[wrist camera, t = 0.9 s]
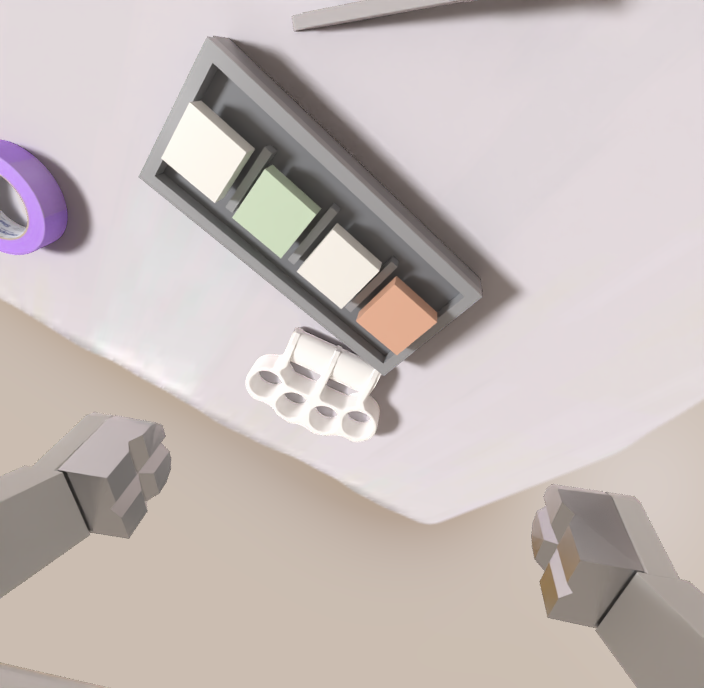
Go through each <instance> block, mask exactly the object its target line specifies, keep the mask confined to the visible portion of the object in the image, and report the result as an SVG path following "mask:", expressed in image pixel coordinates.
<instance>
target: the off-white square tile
mask: <svg viewBox="0 0 704 688" xmlns="http://www.w3.org/2000/svg"><path fill="white" fill-rule="evenodd" d="M381 264H382V262H381V261H379V260H378V259H377V258H376V257H375V256H374V255H373V254H372V253H371V252H369V251H368V250H367V249H366V248H365V247H364V246H363V245H362V244H361V243H359V242H358V241H357V240H356V239H355V238H354V237H353V236H352V235H350V234H349V233H348V232H347V231H346V230H345V229H344V228H343V227H342V226H340V225H339V224H338V223H337V224H336V225H335V226H334V227H333V228H332V230H331V231H330V232H329V233H328V234H327V235H326V237H325V238H324V239H323V240H322V241H321V243H320V244H319V245H318V246H317V247H316V248H315V250H314V251H313V252H312V253H311V254H310V255H309V257H308V258H307V259H306V260H305V261H304V262H303V264H302V265H301V266H300V268H299V269H298V271H297V272H298V273H299V274H300V275H301V276H302V277H304V278H305V279H306V280H307V281H308V282H310V283H311V284H312V285H313V286H314V287H316V288H317V289H318V290H319V291H320V292H322V293H323V294H324V295H325V296H326V297H327V298H329V299H330V300H331V301H332V302H333V303H335V304H336V305H337V306H338V307H339V308H341V309H342V308H343V307H344V306H345V305H346V304H347V303H348V302H349V301H350V300H351V299H352V298H353V297H354V296H355V295H356V294H357V293H358V292H359V291H360V290H361V289H362V288H363V287H364V286H365V285H366V284H367V283H368V282H369V281H370V280H371V279H372V278H373V277H374V276H375V275H376V274H377V273H378V272H379V271H380V268H381Z"/></svg>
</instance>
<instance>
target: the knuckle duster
mask: <svg viewBox="0 0 704 688" xmlns="http://www.w3.org/2000/svg"><path fill="white" fill-rule="evenodd" d="M290 361H291V362H293V363H296V364H298V365H300V366H302V367H305V368H307V369H309V370H311V371H314V372H316V373H318V374H320V375H321V377H320V379H318V380H313V379H310V378H308V377H306V376H304V375H301V374H299V373H297V372H295V371H294V369H293V367H292V365H291V363H290ZM259 371H269V372H272V373H274V374H276V375H277V376H278V377H279V378H280V380H281V383H277V384H274V383H269V382H267V381H265V380H264V379H263V378H262V377H261V375H260V373H259ZM380 376H381V373H379V372H378V371H377V370H376V369H374V368H373V367H372V366H371V365H370V364H368V363H367V362H366V361H365V360H363V359H362V358H361V357H360V356H358V355H356V354H353V353H351V352H349V351H347V350H345V349H343V348H342V347H341V346H339V345H337V346H336V345H334V344H331V343H329V342H327V341H325V340H323V339H320V338H318V337H316V336H314V335H312V334H309V333H307V332H305V331H303V329H301V328H299V327H298V328H295V330H294V332H293V334H292V336H291V338H290V340H289V343H288V345H287V347H286V350H285V352H284V354H282V355H276V354H267V355H264V356H262V357H260V358H259V359H258V360H257V361H256V362H255V364H254V365H253V367H252V369H251V370H250V372H249V373H248V375H247V377H246V388H247V390H248V392H249V394H250V395H251V396H252V397H253V398H254V399H255V400H259V401H262V402H264V403H266V404H268V405H269V406H271V407H272V408H273V409H274V410H275V412H276V413H277V415H278V416H280V417H281V418H283V419H284V420H286V421H287V422H288V423H295V424H299V425H301V426H303V427H305V428H307V429H308V430H309V431H310V432H311V433H315V434H319V435H324V436H328V435H337V436H342V437H345V438H347V439H349V440H350V441H352V442H363V441H366V440H368V439H370V438H371V437H373V436H374V434H375V433H376V430H377V426H378V421H379V415H380V408H379V405H378V403H377V402H376V401H375V399H374V398H372V397H371V396H370V393H371V392H372V391H373V389H374V387H375V386H376V384H377V382H378V380H379V378H380ZM329 379H332V380H334V381H336V382H338V383H341V384H343V385H345V386H347V387H350V388H352V389H354V390H356V391H359V393H352V394H350V395H347V394H344V393H342V392H340V391H337V390H335V389H333V388H331V387H329V386H327V382H328V380H329ZM289 392H293V393H297V394H299V395H301V396H303V397H304V398H305V399H306V400H307V402H305V403H295V402H292V401H291V400H289V399H288V398H287V397H286V396H285V393H289ZM317 406H326V407H329V408H331V409H333V410H334V411H335V412H336V413H337V415H338V416H335V417H327V416H324V415H322V414H321V413H320V412H319V411H318V410H317V409H316V407H317ZM352 411H359V412H362V413H365V414H366V415H368V416H369V417H370V418H371V420H369V421H366V422H359V421H356V420H354V419H352V418H351V417H350V416H349V415H348V413H349V412H352Z"/></svg>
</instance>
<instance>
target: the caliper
mask: <svg viewBox="0 0 704 688" xmlns="http://www.w3.org/2000/svg"><path fill="white" fill-rule="evenodd" d="M471 1H476V0H364V1H359V2H354V3H349V4H344V5H339V6H334V7H328V8H323V9H318V10H313V11H308V12H303V14H298V15H293V16H292V23H293V30H294V31H298V30H304V29H311V28H318V27H324V26H330V25H336V24H341V23H347V22H352V21H358V20H364V19H369V18H375V17H380V16H386V15H391V14H397V13H403V12H408V11H414V10H419V9H425V8H431V7H436V6H442V5H447V4H453V3H459V2H471Z"/></svg>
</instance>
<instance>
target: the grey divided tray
mask: <svg viewBox="0 0 704 688" xmlns="http://www.w3.org/2000/svg"><path fill="white" fill-rule="evenodd" d="M194 101H202V102H203V103H205V104H206V105H207V106H208V107H209V108H210V109H211V110H212V111H213V112H215V113H216V114H217V115H218V116H219V117H220V118H221V119H222V120H223V121H225V122H226V123H227V124H228V125H229V126H230V127H231V128H232V129H233V130H235V131H236V132H237V133H238V134H239V135H240V136H241V137H242V138H244V139H245V140H246V141H247V142H248V143H249V144H250V145H251V146H252V147H254V148H255V150H254V152H253V153H252V155H251V156H250V158H249V159H248V161H247V163H246V164H245V166H244V167H243V169H242V170H241V172H240V174H239V175H238V177H237V178H236V180H235V181H234V183H233V184H232V186H231V188H230V189H229V191H228V192H227V194H226V195H225V197H224V198H223V199H221V200H219V201H218V202H216V203H214V202H213V201H211V200H210V199H209V198H208V197H207V196H205V195H204V194H203V193H202V192H201V191H199V190H198V189H197V188H196V187H195V186H194V185H192V184H191V183H190V182H189V181H188V180H186V179H185V178H184V177H183V176H182V175H180V174H179V173H178V172H177V171H176V170H174V169H173V168H172V167H171V166H170V165H168V164H167V163H166V162H165V161H164V160H162V159H161V157H162V156H163V154H164V152H165V150H166V148H167V146H168V144H169V142H170V140H171V138H172V136H173V134H174V132H175V130H176V128H177V126H178V124H179V122H180V120H181V118H182V116H183V114H184V112H185V110H186V108H187V106H188V104H189V102H194ZM271 165H274V166H275V167H276V168H277V169H278V170H279V171H280V172H281V173H283V174H284V175H285V176H286V177H287V178H288V179H289V180H290V181H291V182H293V183H294V184H295V185H296V186H297V187H298V188H299V189H300V190H301V191H303V192H304V193H305V194H306V195H307V196H308V197H309V198H310V199H311V200H313V201H314V202H315V203H316V204H317V205H318V206H319V207H320V208H322V209H321V210H320V211H319V212H318V214H317V215H316V216H315V217H314V218H313V220H312V221H311V222H310V223H309V225H308V226H307V227H306V228H305V230H304V231H303V232H302V233H301V235H300V236H299V237H298V238H297V240H296V241H295V242H294V243H293V244H292V246H291V247H290V248H289V249H288V251H287V252H286V253H285V254H284V255H283V257H282V258H280V257H278V256H277V255H276V254H275V253H274V252H272V251H271V250H270V249H269V248H268V247H266V246H265V245H264V244H263V243H262V242H261V241H259V240H258V239H257V238H256V237H255V236H253V235H252V234H251V233H250V232H249V231H247V230H246V229H245V228H244V227H243V226H241V225H240V224H239V223H238V222H237V221H235V220H234V219H233V218H232V217H233V216H234V214H235V213H236V211H237V210H238V208H239V207H240V205H241V204H242V202H243V201H244V199H245V198H246V196H247V195H248V193H249V192H250V190H251V189H252V187H253V186H254V184H255V183H256V181H257V180H258V178H259V177H260V175H261V174H262V172H263V171H264V170H265V169H266V168H268V167H269V166H271ZM139 178H140V179H142V180H143V181H144V182H145V183H147V184H148V185H149V186H150V187H151V188H153V189H154V190H155V191H156V192H158V193H159V194H160V195H161V196H163V197H164V198H165V199H166V200H167V201H169V202H170V203H171V204H172V205H174V206H175V207H176V208H177V209H179V210H180V211H181V212H182V213H183V214H185V215H186V216H187V217H188V218H190V219H191V220H192V221H193V222H195V223H196V224H197V225H198V226H199V227H201V228H202V229H203V230H204V231H206V232H207V233H208V234H209V235H211V236H212V237H213V238H214V239H215V240H217V241H218V242H219V243H220V244H222V245H223V246H224V247H225V248H227V249H228V250H229V251H230V252H232V253H233V254H234V255H235V256H236V257H238V258H239V259H240V260H241V261H243V262H244V263H245V264H246V265H248V266H249V267H250V268H251V269H252V270H254V271H255V272H256V273H257V274H259V275H260V276H261V277H262V278H264V279H265V280H266V281H267V282H268V283H270V284H271V285H272V286H273V287H275V288H276V289H277V290H278V291H280V292H281V293H282V294H283V295H284V296H286V297H287V298H288V299H289V300H291V301H292V302H293V303H294V304H296V305H297V306H298V307H299V308H301V309H302V310H303V311H304V312H305V313H307V314H308V315H309V316H310V317H312V318H313V319H314V320H315V321H317V322H318V323H319V324H320V325H321V326H323V327H324V328H325V329H326V330H328V331H329V332H330V333H331V334H333V335H334V336H335V337H336V338H337V339H339V340H340V341H341V342H342V343H344V344H345V345H346V346H347V347H349V348H350V349H351V350H352V351H353V352H355V353H356V354H357V355H358V356H360V357H361V358H362V359H363V360H365V361H366V362H367V363H368V364H370V365H371V366H372V367H373V368H374V369H376V370H377V371H378V372H379V373H381V374H382V375H383V376H385V375H386V374H387V373H389V372H390V371H391V370H392V369H394V368H395V367H396V366H397V365H398V364H400V363H401V362H402V361H403V360H405V359H406V358H407V357H408V356H410V355H411V354H412V353H413V352H415V351H416V350H417V349H418V348H420V347H421V346H422V345H423V344H425V343H426V342H427V341H428V340H430V339H431V338H432V337H433V336H435V335H436V334H437V333H438V332H440V331H441V330H442V329H443V328H445V327H446V326H447V325H448V324H449V323H451V322H452V321H453V320H454V319H456V318H457V317H458V316H459V315H461V314H462V313H463V312H464V311H466V310H467V309H468V308H469V307H471V306H472V305H473V304H474V303H476V302H477V301H478V300H479V299H481V298H482V297H483V296H482V292H483V290H482V285H481V279H480V278H479V277H478V276H477V275H476V274H475V273H474V272H473V271H472V270H471V269H470V268H468V267H467V266H466V265H465V264H464V263H463V262H462V261H461V260H460V259H459V258H458V257H457V256H456V255H455V254H454V253H453V252H452V251H451V250H450V249H449V248H448V247H447V246H445V245H444V244H443V243H442V242H441V241H440V240H439V239H438V238H437V237H436V236H435V235H434V234H433V233H432V232H431V231H430V230H429V229H428V228H427V227H426V226H425V225H424V224H423V223H421V222H420V221H419V220H418V219H417V218H416V217H415V216H414V215H413V214H412V213H411V212H410V211H409V210H408V209H407V208H406V207H405V206H404V205H403V204H402V203H401V202H400V201H398V200H397V199H396V198H395V197H394V196H393V195H392V194H391V193H390V192H389V191H388V190H387V189H386V188H385V187H384V186H383V185H382V184H381V183H380V182H379V181H378V180H377V179H376V178H374V177H373V176H372V175H371V174H370V173H369V172H368V171H367V170H366V169H365V168H364V167H363V166H362V165H361V164H360V163H359V162H358V161H357V160H356V159H355V158H354V157H353V156H351V155H350V154H349V153H348V152H347V151H346V150H345V149H344V148H343V147H342V146H341V145H340V144H339V143H338V142H337V141H336V140H335V139H334V138H333V137H332V136H331V135H330V134H328V133H327V132H326V131H325V130H324V129H323V128H322V127H321V126H320V125H319V124H318V123H317V122H316V121H315V120H314V119H313V118H312V117H311V116H310V115H309V114H308V113H307V112H306V111H304V110H303V109H302V108H301V107H300V106H299V105H298V104H297V103H296V102H295V101H294V100H293V99H292V98H291V97H290V96H289V95H288V94H287V93H286V92H285V91H284V90H283V89H281V88H280V87H279V86H278V85H277V84H276V83H275V82H274V81H273V80H272V79H271V78H270V77H269V76H268V75H267V74H266V73H265V72H264V71H263V70H262V69H261V68H260V67H259V66H257V65H256V64H255V63H254V62H253V61H252V60H251V59H250V58H249V57H248V56H247V55H246V54H245V53H244V52H243V51H242V50H241V49H240V48H239V47H238V46H237V45H236V44H234V43H233V42H232V41H231V40H230V39H229V38H225V37H218V36H213V37H207V38H206V40H205V42H204V44H203V46H202V48H201V50H200V52H199V54H198V56H197V58H196V60H195V62H194V64H193V67H192V69H191V71H190V73H189V75H188V77H187V79H186V81H185V83H184V85H183V87H182V89H181V91H180V93H179V95H178V97H177V99H176V101H175V103H174V105H173V107H172V110H171V112H170V114H169V116H168V118H167V120H166V122H165V124H164V126H163V128H162V130H161V132H160V134H159V136H158V138H157V140H156V142H155V144H154V146H153V148H152V150H151V153H150V155H149V157H148V159H147V161H146V163H145V165H144V167H143V169H142V171H141V173H140V175H139ZM337 223H338V224H339V225H340V226H342V227H343V228H344V229H345V230H346V231H347V232H348V233H349V234H350V235H352V236H353V237H354V238H355V239H356V240H357V241H358V242H359V243H361V244H362V245H363V246H364V247H365V248H366V249H367V250H368V251H369V252H371V253H372V254H373V255H374V256H375V257H376V258H377V259H378V260H379V261H381V262H382V264H381V268H380V271H379V272H378V273H377V274H376V275H375V276H374V277H373V278H372V279H371V280H370V281H369V282H368V283H367V284H366V285H365V286H364V287H363V288H362V289H361V290H360V291H359V292H358V293H357V294H356V295H355V296H354V297H353V298H352V299H351V300H350V301H349V302H348V303H347V304H346V305H345V306H344V307H343V308H342V309H341V308H339V307H338V306H337V305H336V304H335V303H333V302H332V301H331V300H330V299H329V298H327V297H326V296H325V295H324V294H323V293H322V292H320V291H319V290H318V289H317V288H316V287H314V286H313V285H312V284H311V283H310V282H308V281H307V280H306V279H305V278H304V277H302V276H301V275H300V274H299V273H298V272H297V271H298V269H299V268H300V266H301V265H302V264H303V262H304V261H305V260H306V259H307V258H308V257H309V255H310V254H311V253H312V252H313V251H314V250H315V248H316V247H317V246H318V245H319V244H320V243H321V241H322V240H323V239H324V238H325V237H326V235H327V234H328V233H329V232H330V231H331V230H332V228H333V227H334V226H335V225H336V224H337ZM396 276H397V277H398V278H400V279H401V280H402V281H403V282H404V283H405V284H406V285H407V286H408V287H410V288H411V289H412V290H413V291H414V292H415V293H416V294H417V295H418V296H420V297H421V298H422V299H423V300H424V301H425V302H426V303H427V304H428V305H430V306H431V307H432V308H433V309H434V310H435V311H436V312H437V323H436V324H435V325H433V326H432V327H431V328H430V329H428V330H427V331H426V332H425V333H424V334H422V335H421V336H420V337H419V338H418V339H416V340H415V341H414V342H413V343H411V344H410V345H409V346H408V347H407V348H405V349H404V350H403V351H402V352H400V353H399V354H398V355H396V354H394V353H393V352H392V351H391V350H390V349H389V348H387V347H386V346H385V345H384V344H383V343H381V342H380V341H379V340H378V339H377V338H375V337H374V336H373V335H372V334H371V333H369V332H368V331H367V330H366V329H365V328H363V327H362V326H361V325H360V324H359V323H357V322H356V319H357V316H358V313H359V311H360V310H361V309H362V308H363V307H364V306H366V305H367V304H368V303H369V302H370V301H371V300H372V299H373V298H374V297H375V296H376V295H377V294H378V293H379V292H380V291H381V290H382V289H383V288H384V287H385V286H386V285H387V284H388V283H389V282H391V281H392V280H393V279H394V278H395V277H396Z"/></svg>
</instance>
